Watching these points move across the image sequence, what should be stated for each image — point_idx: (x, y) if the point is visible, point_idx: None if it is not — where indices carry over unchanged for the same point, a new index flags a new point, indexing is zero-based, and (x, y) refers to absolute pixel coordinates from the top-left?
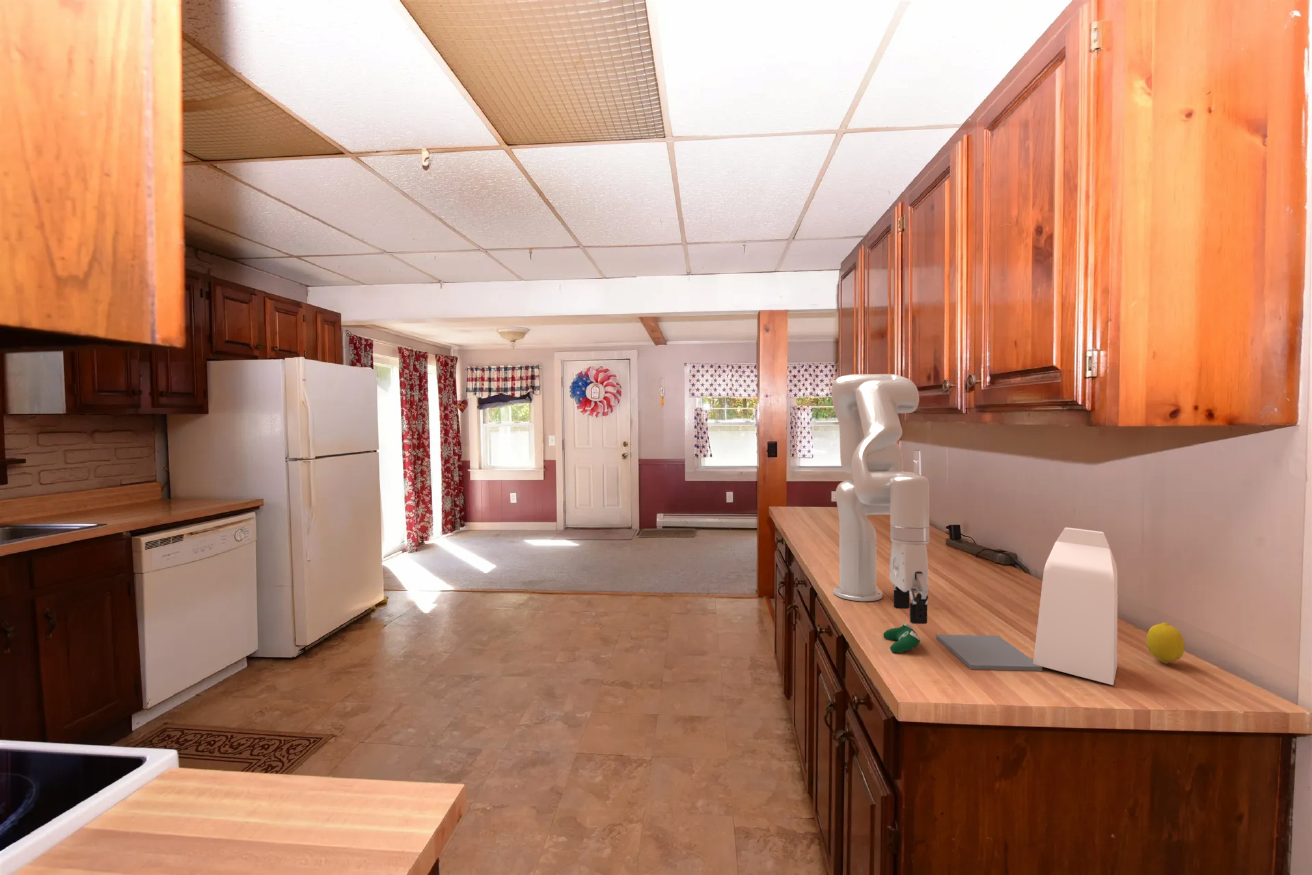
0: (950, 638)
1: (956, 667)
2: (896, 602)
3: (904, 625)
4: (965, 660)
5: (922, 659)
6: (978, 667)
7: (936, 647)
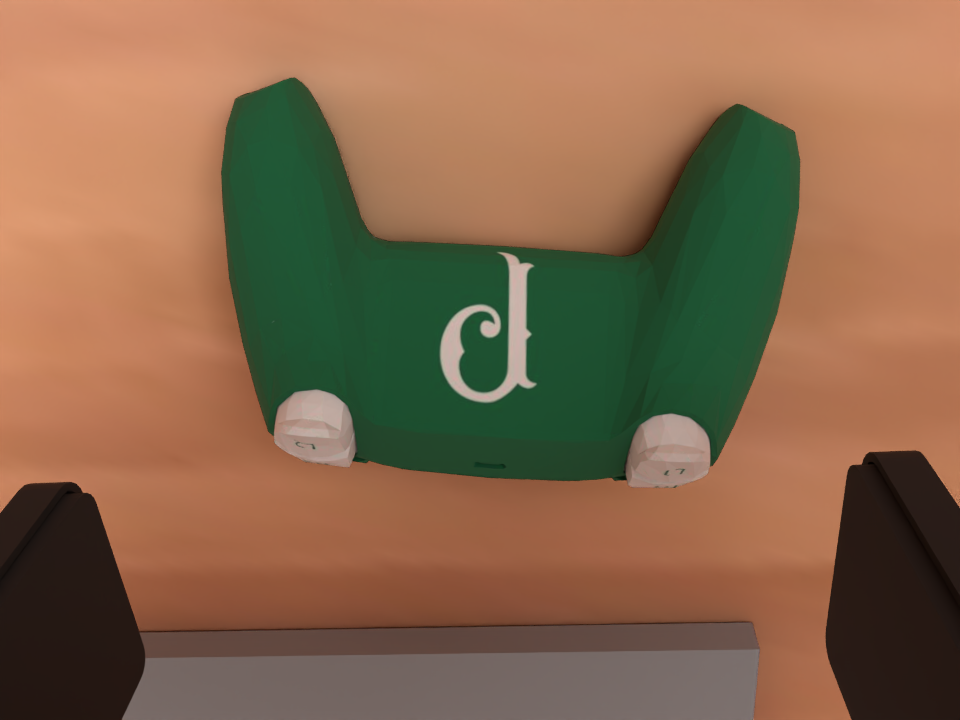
0: (651, 716)
1: None
2: (882, 544)
3: (646, 414)
4: None
5: (157, 350)
6: None
7: (503, 552)
